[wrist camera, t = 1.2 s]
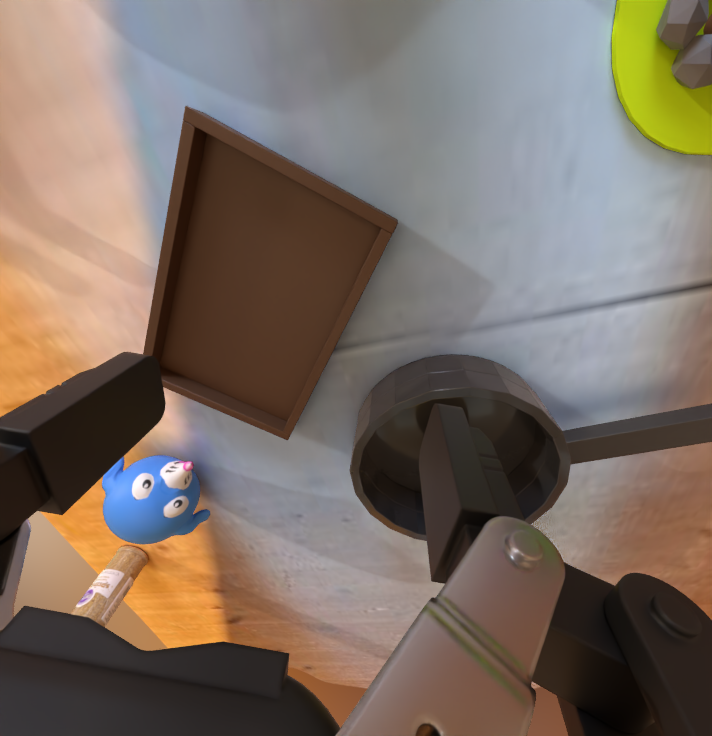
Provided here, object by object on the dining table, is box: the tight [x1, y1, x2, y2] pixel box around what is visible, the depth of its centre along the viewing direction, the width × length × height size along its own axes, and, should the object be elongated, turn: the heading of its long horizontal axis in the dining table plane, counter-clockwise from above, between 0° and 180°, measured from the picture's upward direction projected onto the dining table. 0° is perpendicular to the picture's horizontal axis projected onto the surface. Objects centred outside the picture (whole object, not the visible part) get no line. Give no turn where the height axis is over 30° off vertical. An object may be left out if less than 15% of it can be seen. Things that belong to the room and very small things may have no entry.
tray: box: [143, 106, 398, 440], centre depth 27 cm, size 22×15×2 cm
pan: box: [350, 355, 571, 541], centre depth 30 cm, size 18×18×6 cm
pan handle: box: [563, 404, 712, 464], centre depth 25 cm, size 11×2×1 cm, turn 109°
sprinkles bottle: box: [71, 546, 148, 627], centre depth 42 cm, size 5×5×13 cm
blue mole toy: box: [102, 455, 210, 544], centre depth 34 cm, size 12×12×8 cm
